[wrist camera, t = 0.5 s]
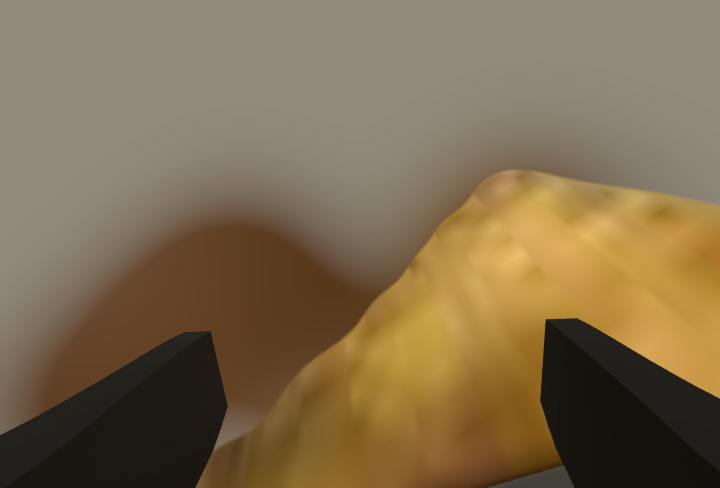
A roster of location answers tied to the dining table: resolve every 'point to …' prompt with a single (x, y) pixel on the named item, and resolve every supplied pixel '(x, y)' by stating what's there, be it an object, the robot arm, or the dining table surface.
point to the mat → (541, 480)
